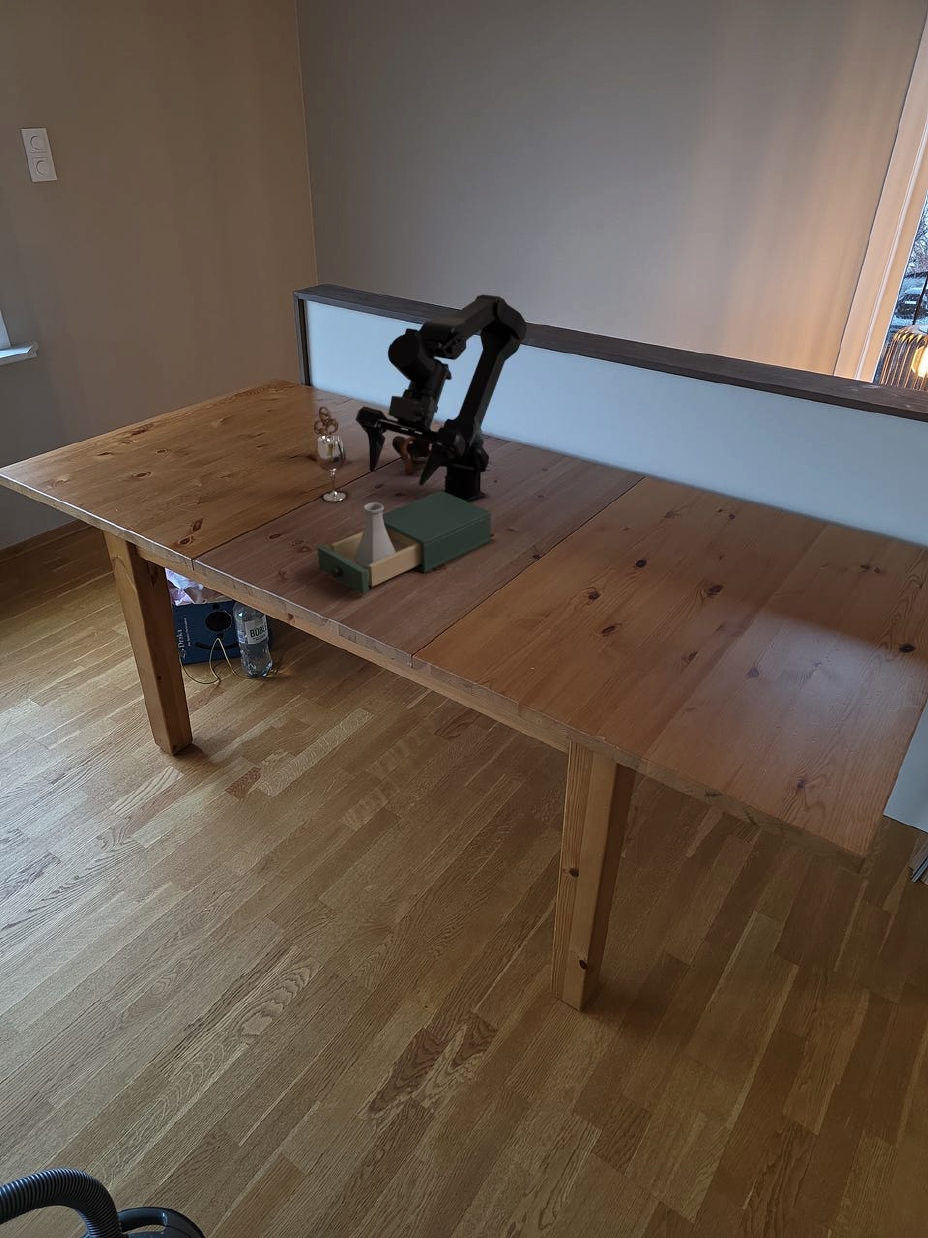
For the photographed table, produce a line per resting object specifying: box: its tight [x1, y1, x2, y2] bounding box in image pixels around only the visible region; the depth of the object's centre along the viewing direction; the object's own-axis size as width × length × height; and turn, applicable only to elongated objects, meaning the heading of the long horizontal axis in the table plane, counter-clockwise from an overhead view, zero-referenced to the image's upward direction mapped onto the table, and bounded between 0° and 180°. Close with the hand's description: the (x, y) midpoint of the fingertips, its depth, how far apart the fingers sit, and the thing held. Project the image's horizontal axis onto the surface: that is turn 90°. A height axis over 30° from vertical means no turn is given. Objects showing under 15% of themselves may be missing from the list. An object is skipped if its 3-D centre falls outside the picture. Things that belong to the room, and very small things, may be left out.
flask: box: [354, 501, 396, 568], centre depth 134 cm, size 7×7×10 cm
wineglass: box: [315, 435, 347, 502], centre depth 158 cm, size 6×6×12 cm
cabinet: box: [382, 490, 492, 573], centre depth 144 cm, size 16×13×6 cm
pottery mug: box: [391, 435, 433, 475], centre depth 174 cm, size 12×10×8 cm
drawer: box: [317, 526, 422, 596], centre depth 135 cm, size 17×12×4 cm
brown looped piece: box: [309, 406, 349, 465], centre depth 175 cm, size 9×4×12 cm, turn 47°
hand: (395, 478), depth 138 cm, fingers open, 9 cm apart
